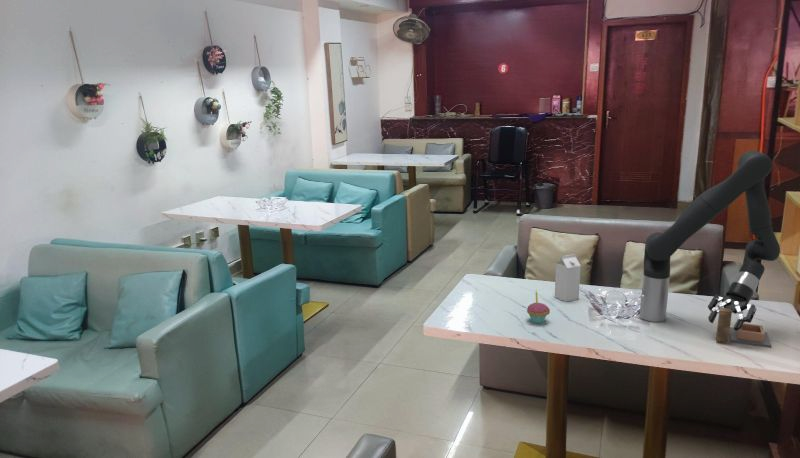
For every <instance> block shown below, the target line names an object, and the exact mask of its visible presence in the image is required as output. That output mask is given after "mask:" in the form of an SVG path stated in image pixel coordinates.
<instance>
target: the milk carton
mask: <svg viewBox="0 0 800 458" xmlns="http://www.w3.org/2000/svg"><path fill="white" fill-rule="evenodd" d="M555 263H556V264H555V279H554V281H555V282H554V297H555V298H557V299H558V300H561V301H563V302H565V303H567V302H572V301H577V300H579V297H580V287H581V286H580V283H581V267H582V266H581V264H580V262H579V260H578V258H577V254H576V253H574V254H573V253H572V254H567V255H563V256H561V258H560V260H558V261H557V262H555Z"/></svg>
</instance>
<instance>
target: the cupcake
mask: <svg viewBox="0 0 800 458" xmlns="http://www.w3.org/2000/svg"><path fill="white" fill-rule="evenodd" d="M526 312H527V314H528V315H529V317H530V321H531V323H534V324H544V322H545V319H546V317H547V316H548V315H550V313H551V311H550V307H549V306H548V305H546V304H544V303H540V302H539V299H538V292H537V290H535V302H533V303H531V304H529V305H527V309H526Z"/></svg>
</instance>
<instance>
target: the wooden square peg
mask: <svg viewBox="0 0 800 458" xmlns="http://www.w3.org/2000/svg"><path fill="white" fill-rule="evenodd" d="M732 315H733V313H732V310H731V309H730V308H723V307H720V309H719V313H718V319H717V328H716V335H715V336H716V337H715V342H716V344H722V345H729V338H730V332H729V331H730V327H731V321H732Z"/></svg>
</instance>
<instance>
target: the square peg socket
mask: <svg viewBox="0 0 800 458" xmlns="http://www.w3.org/2000/svg"><path fill="white" fill-rule="evenodd" d="M729 338H730V342H731V343H737V344H742V345H743V344H744V345H751V346H757V347H758V346H759V347H764V348H765V347H766V348H772V343H771V340H770V337H769V334H768V332H767V331H765V330H764V326H763V325H761V324H753V323H747V322H744V323H743V325H742V327H741V329H740V330H738V331H735V330H734V326H733V327H731V326H730V331H729Z"/></svg>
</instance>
